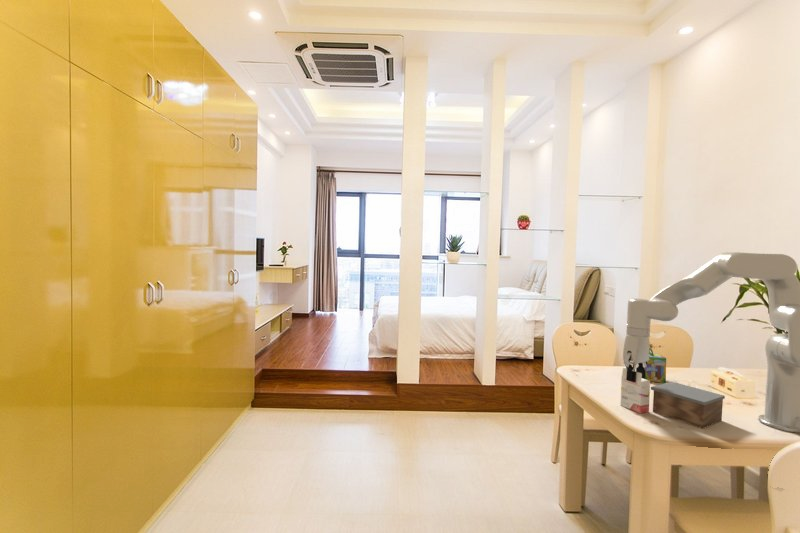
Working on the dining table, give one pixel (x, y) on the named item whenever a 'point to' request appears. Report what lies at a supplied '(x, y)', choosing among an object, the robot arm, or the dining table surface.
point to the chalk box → (656, 368)
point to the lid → (688, 393)
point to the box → (687, 410)
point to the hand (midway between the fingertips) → (635, 379)
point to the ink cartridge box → (635, 393)
